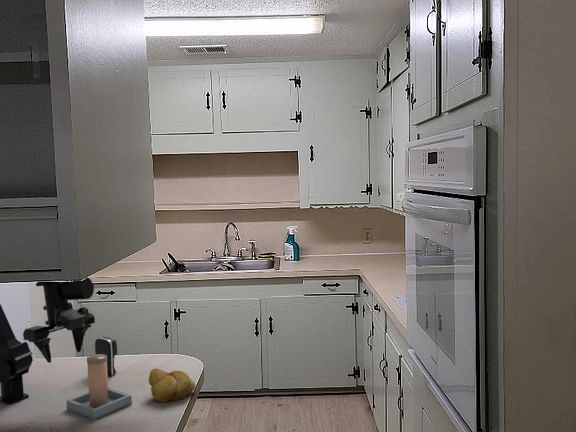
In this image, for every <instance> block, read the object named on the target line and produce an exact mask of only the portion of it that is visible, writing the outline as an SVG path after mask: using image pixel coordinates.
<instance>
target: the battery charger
mask: <svg viewBox="0 0 576 432" xmlns="http://www.w3.org/2000/svg"><path fill="white" fill-rule="evenodd" d="M94 352H95V353H94V355H96V354H104V355H107V375H108V377H111V376H114V375H116V374H117V370H116V369H115V357H116V356H117V355H118V344H117V341H116V339H115V338H113V337H108V336H102V337H98V338H96V339H95V342H94Z"/></svg>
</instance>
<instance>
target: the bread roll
mask: <svg viewBox="0 0 576 432" xmlns="http://www.w3.org/2000/svg"><path fill="white" fill-rule="evenodd" d="M148 383H149V385H150V386H151V387H150V390H151V391H150V392H151V396H152V397H153V399H154V400H156V401H157V402H160V403H165V402H168V401H170V400H172V401H175V400H180V399H183V398H185V397H186V396H188V395H191V393H192V392H193V391H194V390H195V389H196V383H195V382H194V380H193V379H191V378H190V376H189V375H188V373H186V372H184V371H183V370H173V371H170V372H167V371H164V370H163V369H159V368H154V369H152V370H150V372H149V376H148Z"/></svg>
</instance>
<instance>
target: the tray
mask: <svg viewBox="0 0 576 432" xmlns="http://www.w3.org/2000/svg"><path fill="white" fill-rule="evenodd" d="M108 396H109V403H107V404H105V405H102V406H100V407H97V408H92V407H90V406H89V391H88V392H85V393H83V394H80V395H78V396H75V397H72V398H69V399H67V400H66V410H67V411H69V412H73V413H75V414H78V415H80V416H82V417H86V418H88V419H91V420H93V421H95V420H98V419H101V418H104V417H105V416H108V415H109V414H110V415H111V414H112V413H115V412H118V411H120V410H121V409H124V408H126V407H129V406H131V405H132V404H133V402H132V401H133V400H132V395H131V394H128V393H125V392H122V391H120V390H116V389H112V388H109V387H108Z"/></svg>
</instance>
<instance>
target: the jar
mask: <svg viewBox="0 0 576 432" xmlns="http://www.w3.org/2000/svg"><path fill="white" fill-rule="evenodd" d="M86 363H87V381H88V392H89V406H90V407H92V408H97V407H100V406H102V405H105V404H107V403H109V396H108V388H109V380H108V379H109V378H108V377H109V376H108V375H107V355H104V354H96V355H95V354H92V355H91V354H90V355H89V356H87V357H86Z"/></svg>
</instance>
